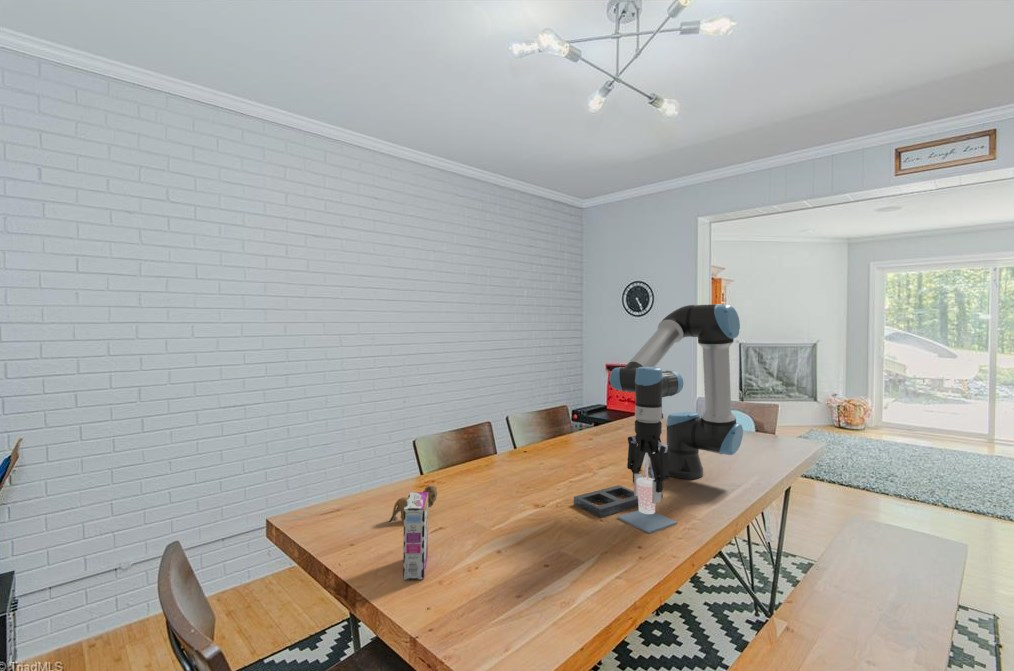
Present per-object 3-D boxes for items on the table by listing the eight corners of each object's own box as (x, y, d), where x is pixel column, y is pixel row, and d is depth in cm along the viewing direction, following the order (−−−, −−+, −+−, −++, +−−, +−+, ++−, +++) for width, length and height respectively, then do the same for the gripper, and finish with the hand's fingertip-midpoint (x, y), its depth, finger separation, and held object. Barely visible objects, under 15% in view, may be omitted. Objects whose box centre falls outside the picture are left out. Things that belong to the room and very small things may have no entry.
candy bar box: (425, 580, 107) (424, 508, 107) (402, 581, 107) (402, 509, 106) (429, 555, 119) (428, 491, 118) (408, 556, 118) (408, 491, 118)
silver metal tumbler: (665, 501, 154) (666, 455, 154) (643, 499, 156) (644, 454, 155) (663, 493, 161) (663, 449, 161) (642, 492, 163) (642, 448, 162)
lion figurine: (433, 510, 146) (433, 482, 146) (440, 517, 142) (440, 487, 141) (386, 520, 139) (386, 490, 139) (391, 527, 135) (391, 496, 134)
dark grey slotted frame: (618, 492, 162) (618, 485, 162) (646, 503, 152) (646, 496, 152) (573, 504, 152) (573, 496, 152) (600, 517, 142) (600, 509, 141)
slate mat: (645, 509, 148) (645, 508, 148) (677, 523, 137) (677, 522, 137) (617, 518, 141) (617, 516, 141) (648, 533, 131) (649, 531, 131)
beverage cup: (654, 517, 135) (655, 468, 134) (633, 512, 138) (633, 464, 138) (660, 509, 140) (660, 462, 140) (639, 505, 143) (640, 459, 143)
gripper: (615, 415, 144) (614, 491, 145) (666, 428, 128) (665, 512, 129) (632, 413, 148) (631, 486, 149) (684, 424, 132) (683, 506, 133)
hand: (647, 498), depth 139 cm, fingers closed on beverage cup, 6 cm apart
